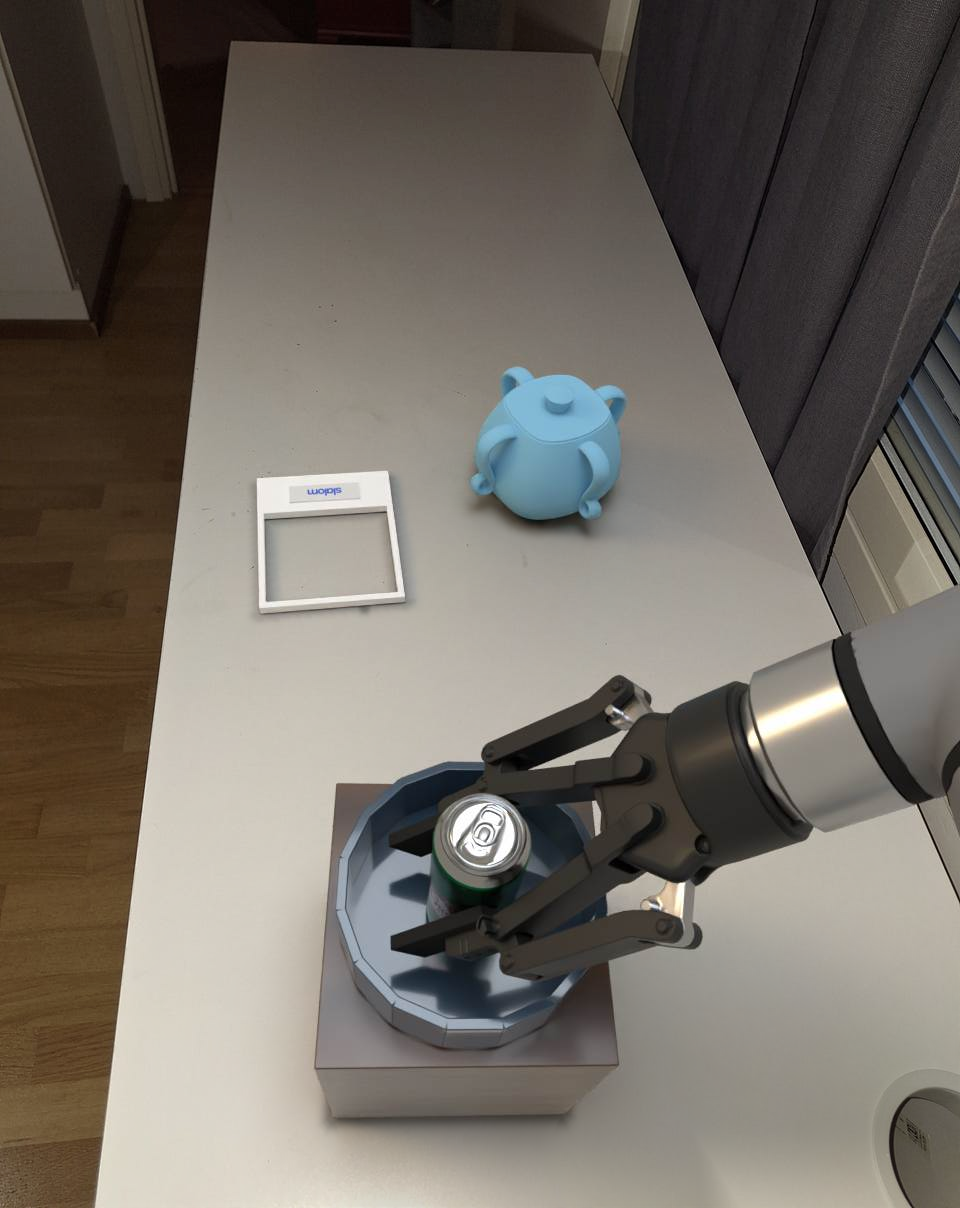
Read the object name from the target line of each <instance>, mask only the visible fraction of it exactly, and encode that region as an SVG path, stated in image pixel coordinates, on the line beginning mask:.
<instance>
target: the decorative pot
mask: <svg viewBox="0 0 960 1208" xmlns="http://www.w3.org/2000/svg"><path fill="white" fill-rule="evenodd" d="M517 384H518V386H517ZM500 393H501V399H500V401H499V402H498V403H497V405H496V406H495V407H494V408H493V409H492V411H491V412H490V414H488V417H487V418H486V419H485V421H484V422H483V425H482V426H481V428H480V431H479V433H478V437H477V439H476V443H475V447H474V454H473V455H474V456H473V457H474V462H475V466H476V468H477V470H478V472H477V473H475V474H474V475H473V476H472V477H471V479H470V481H469V482H470V483H469V486H470V489H471V491H472V492H473V493H474V494H476V495H478V496H487V495H489V494H491V493H493V494H494V495H495V496H496V497H497V498H498V500H499V501H501V502H502V503H503V504H504V505H505V506H506V507H507V508H508V509H509V510H510V511H511V512H513V513H514V514H516V515H518V516H519V517H522V518H524V519H527V520H528V519H529V520H535V521H536V520H538V521H540V520H543V521H544V520H551V519H558V518H561V517H565V516H570V515H572V514H575V513H579V514H580V516H581V517H583V518H584V519H586V520H589V521H591V520H592V521H593V520H596V519H598V518H599V517H600V516H601V514H602V506H601V504H600V502H599V500H600V499H601V498H603V497H604V496H605V495H606V494H607V493H608V492H609V491H610V490H611V489H612V488H613V486H614V485H615V483H616V482H617V480H618V478H619V475H620V469H621V461H622V448H621V441H620V437H621V431H620V428H619V426H618V425H617V424H618V422H619V421H620V419H621V417H622V416H623V414H624V412H625V409H626V407H627V397H626V394H625V393H624V392H623V390H622V389H621V388H619V387H618V386H615V385H611V384H608V385H606V384H605V385H603V386H599V387H598V388H596V389H594V390H593V388H592V387H591V386H590V385H589V384H587V383H586V382H585V381H583V380H581V379H580V378H579V377H577V376H574V375H569V374H551V375H546V376H541V377H537V378H535V377H534V375H533V374H532V373H531V372H530V371H529V370H528V369H526V368H525V367H522V366H513V367H510V368H508V369H506V370H505V371H504V372H503V373H502V376H501V378H500ZM608 401H611V403H610V405H609V406H608V405H607V404H606V402H608Z"/></svg>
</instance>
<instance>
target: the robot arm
mask: <svg viewBox="0 0 960 1208" xmlns="http://www.w3.org/2000/svg"><path fill="white" fill-rule="evenodd" d="M652 700H653V699H652V696H651V693H650V692H649V691H647V690H646V689H644V688H642V687H641V686H640V685H638V684H636V683H634V682H633V681H632V680H631V679H629V678H627V677H626V676H624V675H622V674H617V675H614V676H613V677H611V678H610V679H609V680H608V681H606V683H604V684H603V685H602V686H601V687H599V689H597V691H595V692H594V693H593V694H592V695H591V696H590V697H589V698H586V699H585V700H582V701H580V702H577V703H575V704H573V705H571V706H568V707H566V708H564V709H561V710H560V711H557V712H554V713H552V714H550V715H547V716H545V717H543V718H541V719H539V720H536V721H534V722H532V723H530V724H527V725H525V726H523V727H521V728H518V729H516V730H514V731H511V732H509V733H506V734H505V735H502V736H500V737H498V738H495V739H494V740H491V741H488V742H487V743H485V745H484V746H483V747H482V749H481V752H480V757H481V760H482V762H486V763H485V768H484V772H483V775H482V776H481V777H480V778H479V779H478V780H477V782H476V784H474V785H471V786H469V787H467V788H465V789H462V790H460V791H458V792H455V793H453V794H452V795H449V796H446V797H444V798H443V799H442V800H441V801H440V802H439V803H438V814H435V815H433V816H431V817H428V818H426V819H424V820H421V821H419V822H417V823H414V824H412V825H410V826H407V827H405V828H403V829H400V830H398V831H396V832H393V833H391V834H389V847H391V848H394V849H397V850H400V851H403V852H406V853H409V854H412V855H415V856H418V857H423V856H426V855H428V854H431V852H432V841H433V832H434V828H435V825H436V823H437V821H438V819H439V817H440V816H441V814H442V813H443V812H444V811H445V810H446V809H447V808H448V807H449V806H450V805H451V804H453V803H454V802H456V801H458V800H460V799H462V798H464V797H466V796H469V795H472V794H478V793H486V794H493V795H496V796H499V797H502V798H503V799H505V800H507V801H508V802H510V803H511V804H512V805H513V806H514V807H515V808H518V807H529V806H541V805H552V804H564V803H576V802H587V801H592V802H596V804H597V807H598V809H599V811H600V822H599V823H600V824H599V834H597V835H596V837H594V838H593V839H591V840H590V841H589V842H587V843H586V844H585V845H584V846H583V852H582V853H581V854H580V855H578V856H577V857H575V858H574V859H573V860H571V861H570V862H568V863H567V864H566V865H564V866H563V867H561V868H560V869H558V870H557V871H556V872H554V873H553V874H551V875H550V876H549V877H547V878H546V879H544V880H543V881H542V882H540V883H539V884H537V885H536V886H534V887H533V888H532V889H530V890H529V891H527V892H526V893H525V894H523V895H522V896H520V897H519V898H517V899H516V900H515V901H513V902H512V903H510V904H509V905H508V906H506V907H505V908H503V909H502V910H498V909H494V908H491V907H487V906H484V905H478V906H475V907H472V908H469V909H466V910H463V911H460V912H458V913H455V914H452V915H449V916H446V917H443V918H440V919H438V920H435V921H432V922H429V923H426V924H423V925H420V926H417V927H415V928H412V929H409V930H406V931H403V932H400V933H397V934H394V935H392V936H390V943H391V950H392V951H397V952H401V953H406V954H410V955H415V956H419V957H423V958H426V957H429V956H432V955H435V954H438V953H441V952H445V951H446V956H450V957H454V958H458V959H463V960H467V961H474V960H477V959H481V958H484V957H487V956H490V955H494V954H497V953H500V955H501V956H500V959H499V967H500V970H501V972H502V973H503V974H505V975H508V976H512V977H516V978H521V979H525V980H530V981H534V982H541V981H544V980H548V979H551V978H554V977H558V976H561V975H564V974H567V973H571V972H574V971H577V970H580V969H584V968H587V967H590V966H594V965H597V964H600V963H603V962H607V961H609V962H610V961H613V960H617V959H619V958H622V957H623V958H624V957H626V956H629V955H632V954H636V953H639V952H643V951H646V950H649V949H653V948H654V947H661V948H670V949H671V948H672V949H678V950H679V949H680V950H686V951H692V950H693V951H694V950H696V949H698V948H699V947H700V945H702V942H703V939H704V934H703V929H702V928H701V926H700V925H699V924H698V923H696V922H693V919H694V907H695V895H696V887H698V886H700V885H702V884H703V883H705V881H707V879H708V878H709V877H710V876H711V875H712V874H713V873H715V871H717V870H718V869H720V868H722V867H724V866H727V865H731V864H735V863H740V862H743V861H745V860H749V859H753V858H756V857H759V856H761V855H764V854H768V853H771V852H774V851H777V850H780V849H784V848H786V847H790V846H793V845H796V844H799V843H802V842H805V841H806V840H808V838H809V837H810V835H811V833H812V832H813V830H814V828H815V829H817V830H818V831H820V832H823V833H830V832H835V831H838V830H841V829H844V828H847V827H851V826H854V825H857V824H859V823H863V822H867V821H869V820H873V819H876V818H879V817H882V816H885V815H889V814H891V813H895V812H898V811H901V810H903V809H907V808H910V807H914V806H916V805H920V804H922V803H926V802H929V801H932V800H934V799H941V798H943V797H946V800H947V804H948V806H949V808H950V812H951V815H952V818H953V821H954V824H955V827H956V830H957V833H958V836H959V837H960V583H958V584H956V585H954V586H951V587H950V588H947V589H945V590H943V591H941V592H939V593H937V594H934V595H932V596H930V597H928V598H926V599H923V600H921V601H919V602H917V603H916V602H915V603H914V604H912V605H909V606H907V607H905V608H903V609H901V610H898V611H896V612H893V613H891V614H890V615H889V614H888V615H887V616H885V617H883V618H879V619H878V620H875V621H874V622H871V623H869V624H866V625H864V626H862V627H859V628H857V629H855V630H852V631H848V632H847V633H845V634H842V635H839V636H837V637H836V638H832V639H830V640H827V641H825V642H822V643H820V644H817V645H815V646H813V647H811V648H808V649H806V650H803V651H801V652H798V653H795V654H794V655H792V656H789V657H786V658H784V659H782V660H779V661H777V662H774V663H772V664H770V665H768V666H765V667H762V668H760V669H757V670H755V671H754V672H753V673H752V675H751V678H750V680H749V683H746V682H742V681H739V680H734V681H731V682H729V683H727V684H724V685H722V686H720V687H717V688H715V689H712V690H710V691H708V692H706V693H703V694H700V695H699V696H695V697H694V698H691V699H689V700H687V701H685V702H682V703H680V704H678V705H677V706H676V707H674V708H673V710H671V712H657V711H654V710H653V708H652V707H651V704H652ZM621 731H623V732H624V731H625V732H626V731H627V732H626V734H625V735H624V736H623V738H622V740H620V742H619V744H618V745H617V747H616V748H615V749H614V750H613V752H612V753H611V754H610V756H605V757H597V758H589V759H581V760H576V761H575V762H574V764H568V765H560V766H552V767H542V768H536V767H539V766H541V765H544V764H546V763H549V762H551V761H553V760H556V759H559V758H561V757H563V756H566V755H568V754H571V753H573V752H575V751H579V750H581V749H583V748H585V747H588V746H591V745H593V744H596V743H597V742H598V743H599V742H600V741H603V740H605V739H608V738H609V737H612V736H614V735H617V734H618V733H620V732H621ZM646 873H648V874H651V875H653V876H655V877H657V878H659V879H662V880H664V881H665V884H664V887H663V889H662V890H661V891H660V892H658V893H657V894H653V895H650V896H648V897H647V898H645V899H642V901H641V902H640V903H639V904H640V905H639V908H640V909H628V910H622V911H618V912H614V913H611V914H607V916H605V917H602V918H599V919H596V920H593V921H590V922H587V923H584V924H581V925H578V926H575V927H572V928H569V929H566V930H563V931H560V932H557V933H554V934H551V935H548V936H545V935H546V934H548V933H549V932H551V931H552V930H553V929H555V928H556V927H558V926H559V925H561V924H562V923H564V922H565V921H567V920H568V919H570V918H571V917H573V916H574V915H576V914H577V913H579V912H580V911H581V910H583V909H584V908H586V907H587V906H589V905H590V904H592V903H593V902H595V901H596V900H598V899H599V898H601V897H602V896H604V895H605V894H606V895H607V894H608V893H609V892H612V890H614V889H616V888H617V887H618V886H621V885H627V884H630V883H632V882H635V881H636V880H637V879H639V878H640V877H642V876H643V875H645V874H646ZM543 936H545V937H543Z"/></svg>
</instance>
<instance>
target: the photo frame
mask: <svg viewBox="0 0 960 1208" xmlns="http://www.w3.org/2000/svg"><path fill="white" fill-rule="evenodd" d="M256 506H257V507H256V508H257V509H256V510H257V513H256V514H257V564H258V566H257V568H258V569H257V570H258V571H257V572H258V609H259V614H272V613H273V614H274V613H284V612H298V611H311V610H321V609H335V608H347V607H357V606H358V607H360V606H373V605H383V604H385V605H386V604H395V603H397V604H398V603H405V602H406V594H405V589H404V588H405V587H404V580H403V571H402V565H401V558H400V549H399V543H398V535H397V528H396V521H395V512H394V506H393V498H392V491H391V483H390V477H389V471H388V470H378V471H377V470H375V471H359V472H357V471H356V472H343V473H342V472H341V473H340V472H339V473H325V474H323V473H322V474H306V475H289V476H288V475H287V476H273V477H272V476H271V477H257V478H256ZM381 512H386V515H387V524H388V531H389V539H390V546H391V548H390V549H391V554H392V563H393V569H394V577H395V578H394V579H395V584H396V585H395V586H396V591H393V592H392V591H391V592H381V593H379V592H377V593H367V594H366V593H365V594H354V595H341V596H327V597H318V598H317V597H316V598H304V599H303V598H302V599H290V600H277V601H276V600H275V601H267V567H266V566H267V565H266V564H267V563H266V529H265V528H266V525H265V524H266V522H265V520H271V519H286V518H305V517H318V516H321V517H322V516H334V515H335V516H336V515H351V514H365V513H381Z"/></svg>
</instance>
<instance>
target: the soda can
mask: <svg viewBox="0 0 960 1208" xmlns="http://www.w3.org/2000/svg"><path fill="white" fill-rule="evenodd" d="M531 849H532V840H531V834H530V831H529V827H528V825H527V823H526V821H525V819H524V818H523V816H522V815H521V814H520V813H519V811H518V810H517V809H516V808H515V807H514V806H513V805H512V804H511V803H510V802H508V801H507V800H505V799H503V798H502V797H499V796H496V795H493V794H486V793H478V794H472V795H469V796H466V797H464V798H462V799H460V800H458V801H456V802H454V803H453V804H451V805H450V806H449V807H448V808H447V809H446V810H445V811H444V812H443V813H442V814H441V816H440V817H439V819H438V821H437V823H436V825H435V828H434V832H433V841H432V852H431V863H430V874H429V885H428V896H427V915H428V919H429V922H432V921H435V920H438V919H440V918H443V917H446V916H449V915H452V914H455V913H458V912H460V911H463V910H466V909H469V908H472V907H475V906H478V905H484V906H487V907H491V908H494V909H498V910H502V909H503V908H505V907H506V906H508V905H509V904H510V903H512V902H513V901H515V900H516V898H517V895H518V892H519V889H520V885H521V882H522V879H523V876H524V873H525V870H526V867H527V864H528V861H529V858H530V855H531Z"/></svg>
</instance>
